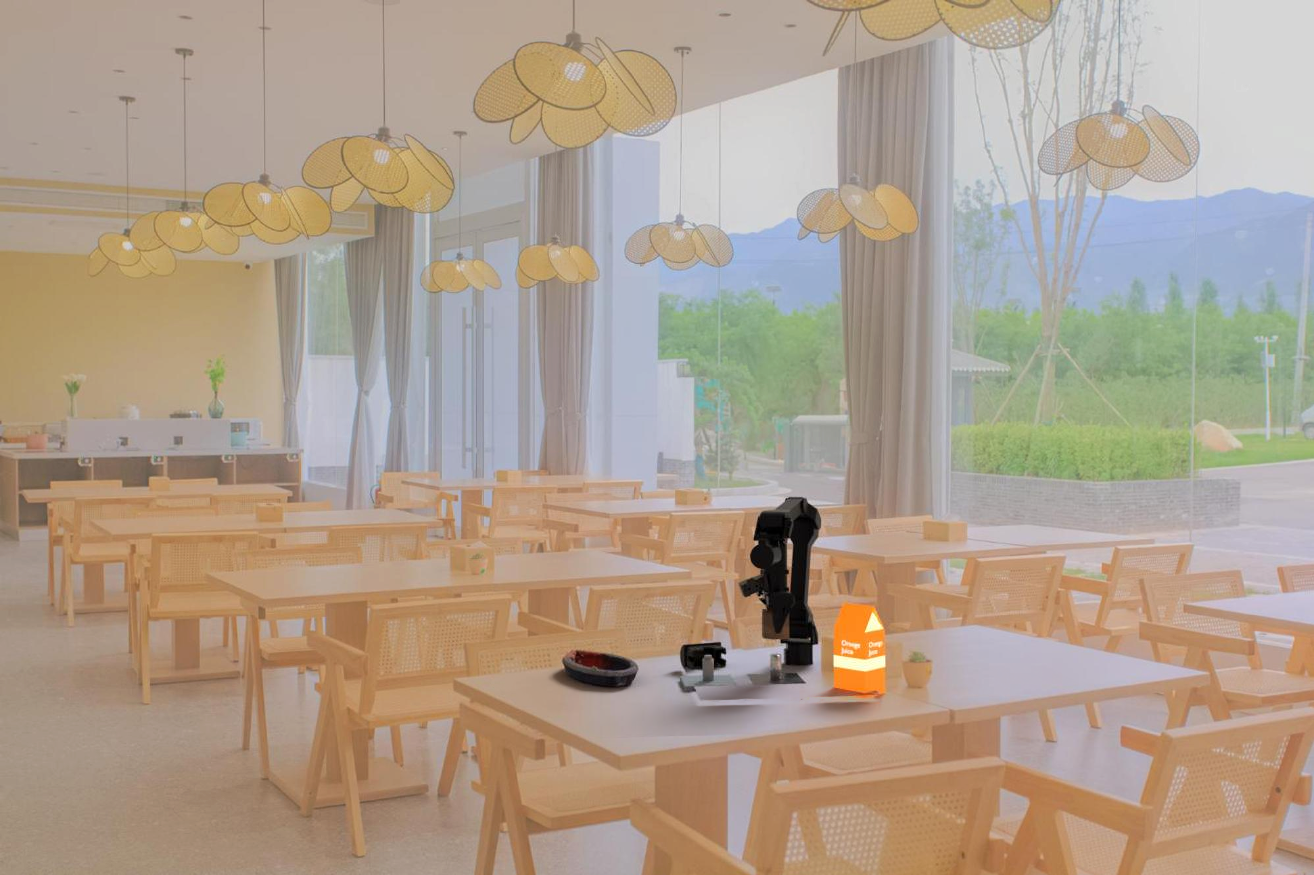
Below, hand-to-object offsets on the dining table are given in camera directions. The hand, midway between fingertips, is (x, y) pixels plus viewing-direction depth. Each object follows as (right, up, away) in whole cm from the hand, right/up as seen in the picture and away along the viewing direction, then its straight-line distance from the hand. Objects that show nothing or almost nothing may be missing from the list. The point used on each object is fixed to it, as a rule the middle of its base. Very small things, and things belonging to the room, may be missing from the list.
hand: (775, 631), depth 292 cm
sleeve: (0, -1, 0) cm, 1 cm away
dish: (-42, -13, +10) cm, 45 cm away
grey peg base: (-16, -13, -1) cm, 20 cm away
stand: (0, -12, 0) cm, 12 cm away
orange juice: (+18, -13, -11) cm, 24 cm away
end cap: (-16, -13, +17) cm, 27 cm away
